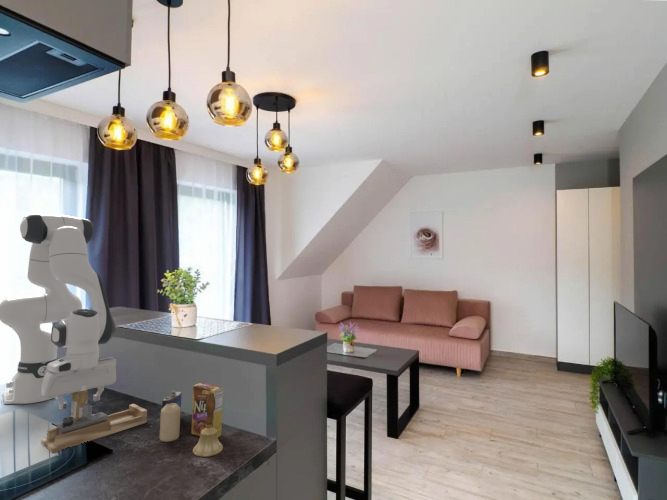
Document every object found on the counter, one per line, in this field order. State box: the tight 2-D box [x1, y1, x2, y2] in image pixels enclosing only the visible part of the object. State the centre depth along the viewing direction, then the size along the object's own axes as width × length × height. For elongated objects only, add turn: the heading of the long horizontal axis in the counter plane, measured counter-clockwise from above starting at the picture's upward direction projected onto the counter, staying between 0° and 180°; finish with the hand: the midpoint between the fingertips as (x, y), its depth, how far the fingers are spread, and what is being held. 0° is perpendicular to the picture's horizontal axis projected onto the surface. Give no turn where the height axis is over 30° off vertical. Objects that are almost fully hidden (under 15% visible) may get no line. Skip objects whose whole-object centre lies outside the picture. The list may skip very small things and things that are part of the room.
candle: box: [159, 403, 182, 443], centre depth 113 cm, size 6×6×10 cm
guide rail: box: [40, 403, 148, 454], centre depth 115 cm, size 9×26×4 cm, turn 144°
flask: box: [161, 389, 182, 419], centre depth 123 cm, size 9×3×11 cm, turn 171°
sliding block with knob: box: [56, 402, 108, 436], centre depth 112 cm, size 4×12×8 cm, turn 144°
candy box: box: [191, 381, 224, 438], centre depth 116 cm, size 9×4×15 cm, turn 65°
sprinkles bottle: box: [70, 385, 89, 420], centre depth 119 cm, size 5×5×13 cm
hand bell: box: [192, 393, 224, 458], centre depth 107 cm, size 8×8×16 cm
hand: (80, 404), depth 119 cm, fingers open, 8 cm apart
